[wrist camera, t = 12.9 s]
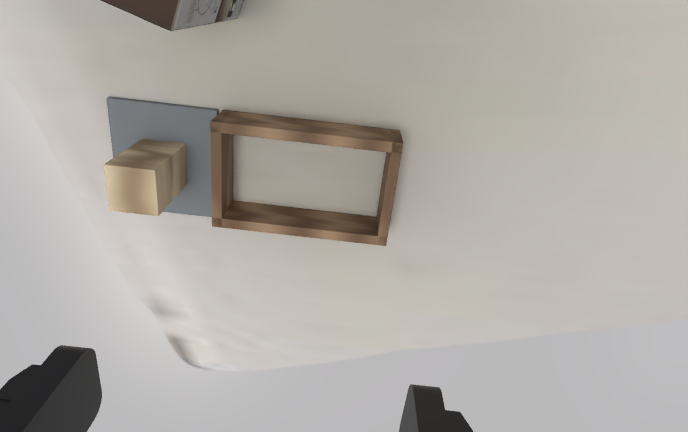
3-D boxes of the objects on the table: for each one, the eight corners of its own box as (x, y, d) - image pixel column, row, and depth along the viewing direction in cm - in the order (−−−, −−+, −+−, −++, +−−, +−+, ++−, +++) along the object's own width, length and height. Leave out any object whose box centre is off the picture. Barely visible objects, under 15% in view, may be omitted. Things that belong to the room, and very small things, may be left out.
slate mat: (121, 204, 53) (118, 206, 52) (109, 96, 47) (106, 97, 47) (219, 215, 53) (217, 217, 52) (218, 109, 47) (216, 110, 47)
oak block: (145, 178, 50) (109, 210, 43) (142, 138, 48) (103, 164, 41) (187, 183, 50) (158, 216, 43) (185, 143, 48) (154, 170, 41)
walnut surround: (223, 207, 52) (212, 226, 48) (223, 109, 47) (210, 121, 43) (384, 226, 52) (386, 245, 48) (399, 130, 48) (403, 143, 44)
